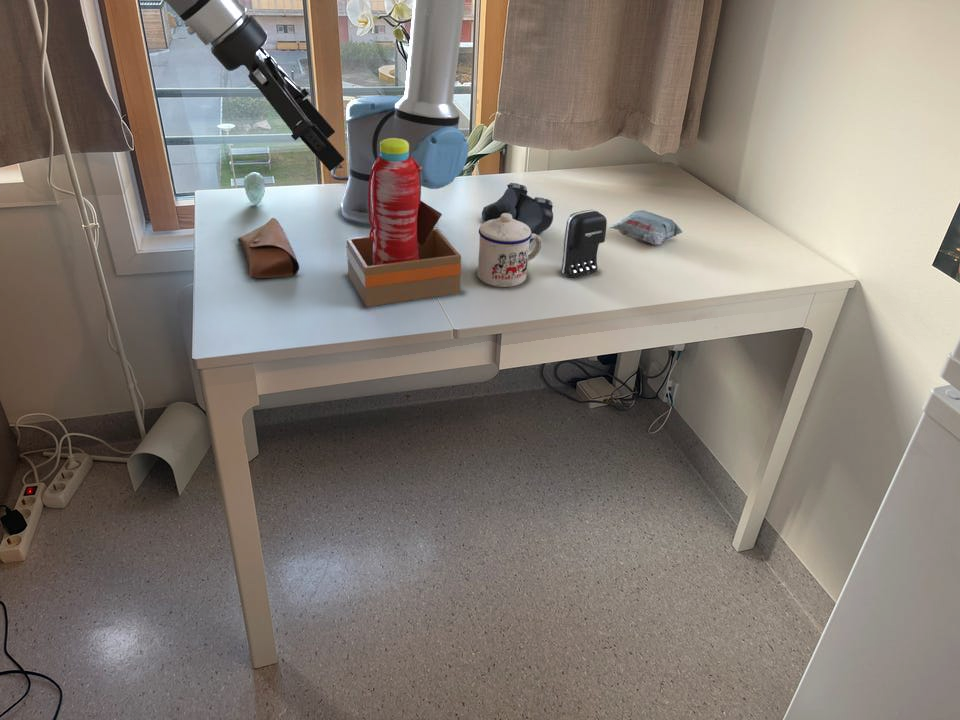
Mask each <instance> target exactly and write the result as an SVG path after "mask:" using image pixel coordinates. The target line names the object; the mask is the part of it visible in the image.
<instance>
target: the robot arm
mask: <svg viewBox="0 0 960 720" xmlns="http://www.w3.org/2000/svg"><path fill="white" fill-rule="evenodd" d="M164 1H165V2H166V3H167V5H169V7H170V8H171V9H172V10H173V11H174V13H176V15H177V16H178V17H179V18H180V19H181V20H182V21H183V22H184V23H185V24H186V26H188V27H187V29H186V32H187V34H188V35H189V36H193V35H194V34H195V35H196V37H197V38H198V39H199V40H200V42H202V44H203V45H205V46H211V47H210V53H211V54H212V55H213V56H214V58H216V60H217V61H218V62H219V63H220V64H221V65H222V66H223V67H224V69H225V70H226V71H228V72H233V71H236V70H237V69H239V68H240V67H241V66H244V67H245V68H246V69H247V71H248V75H247V77H248V79H249V81H250V82H252V84H254V86H255V87H256V88H257V89H258V90H259V92H260V93H261V94H262V95H263V96H264V98H265V99H266V101H268V103H269V104H270V105H271V107H272V108H273V109H274V111H275V112H276V113H277V114H278V116H279V117H280V118H281V120H282V121H283V123H285V125H286V126H287V128H289V130H290V131H291V132H292V134H291V135H290V137H291V138H292V139H293V140H294V141H297V140H298V139H300V140H301V141H302V142H303V143H304V144H305V145H306V146H307V147H308V148H309V150H310V151H311V152H312V153H313V155H314V156H315V157H316V158H318V160H319V161H320V162H321V164H323V165H324V167H325V168H326V169H327V170H328V171H329V172H330V176H331V177H332V178H333V179H334V180H336V181H347V183H346V186H345V191H344V194H343V196H342V200H341V215H342V217H343V218H344V219H345V220H346V221H348V222H351V223H354V224H356V225H360V226H366V227H372V225H371V223H370V221H369V214H368V191H369V178H370V174H371V171H372V166H373V164H374V162H375V161H376V160H377V157H378V156H379V155H380V142H381V141H382V140H385V139H389V138H397V139H403V140H406V141H407V142H408V143H409V155H410V157H411V158H413V159H414V160H415V161H416V162H417V164H418V165H419V166H420V167H422V172H421V187H422V188H426V189H430V190H439V189H442V188H445V187H446V186H449V185H450V184H451V183H453V182H454V180H455V179H456V178H457V177H459V175H460V174H461V173H462V171H463V170H464V167H465V166H466V163H467V159H468V156H469V142H468V140H467V138H466V135H465V134H464V133H463V132H462V130H460V129H459V123H460V122H459V121H460V115H461V114H460V111H459V110H458V108H457V107H456V106H455V104H454V95H455V87H456V78H457V71H458V63H459V62H458V61H459V54H460V46H461V38H462V30H463V22H464V15H465V14H464V13H465V5H466V0H413V3H412V4H413V5H412V14H411V15H412V16H411V26H410V36H409V37H410V39H409V46H408V47H409V48H408V56H407V57H408V58H407V67H406V68H407V70H406V79H405V90H404V95H403V96H400V95H373V96H363V97H359V98H355V99H353V100H351V101H349V103H348V104H347V105H346V119H345V124H346V134H347V135H346V136H347V153H348V154H347V155H348V156H347V157H348V173H349V174H348V176H338V175H336V174H335V173H336V171H337V169H342V163H343V162H344V161H345V158H344V156H343V155H342V154H341V153H340V151H339V150H338V149H337V148H336V147H335V146H334V144H332V143H331V141H330V140H329V138H330V137H331V136H333V135H334V134H335V133H336V130H335V129H334V128H333V127H332V126H331V124H330V123H329V122H328V121H327V120H326V118H324V116H323V115H322V114H321V113H320V111H319V110H318V109H317V108H316V107H315V106H314V104H313V103H312V101H310V100H309V99H308V96H309V95H310V93H309V91H308V90H307V89H306V88H305V87H304V88H303V89H302V88H301V86H300V85H298V84H297V83H296V82H295V81H294V80H293V79H292V78H291V77H290V75H288V74H287V73H286V72H285V70H284V69H283V68H282V67H281V66H280V65H279V64H278V63H277V61H276V60H275V58H274V57H273V56H272V55H271V54H270V55H269V54H268V52H267V51H266V49H265V48H264V46H265V45H266V43H267V42H268V40H269V39H268V38H269V34H268V33H267V31H266V30H265V28H264V27H262V25H261V24H260V23H259V22H258V20H256V18H255V17H254V15H252V14H251V15H250V14H247V13H246V12H247V7H246V5H245V4H244V3H243V2H242V1H241V0H164ZM418 179H419V173H418ZM370 213H371V221H372V220H373V210H372V202H371V193H370Z"/></svg>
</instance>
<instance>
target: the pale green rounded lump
mask: <svg viewBox="0 0 960 720" xmlns="http://www.w3.org/2000/svg"><path fill="white" fill-rule="evenodd" d="M243 187H244V192H245V194H246V197H247V199H248V201H249V202H250V203H251V204H252V205H254V206H256V205H259V204H260V203H261V202H262V201H263V198H264V195H265V191H266V181H265V178H264V177H263V175H261V173H259V172H256V171H253V172H250V173H249V174H247V175H244V176H243Z"/></svg>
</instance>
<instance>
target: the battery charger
mask: <svg viewBox="0 0 960 720" xmlns="http://www.w3.org/2000/svg"><path fill="white" fill-rule="evenodd" d="M607 221H608V220H607V218H606V216H605V215H604V214H602V213H600V212H599V211H598V210H596V209H588V210H581V211H577V212H573V213H571V214H570V215H569V216H568V218H567V219H566V225H565V230H564V231H565V232H564V241H563V253H562V254H563V255H562V264H561V270H560V271H561V272H562V273H561V274H563V275H566V276H567V277H571V278H577V277H584V276H587V275H590V274H595V273H596V272H597V271H598V261H597V260H598V259H597V258H598V250H599V245H600V244H603V243H605V241H606V234H607V226H608V222H607Z"/></svg>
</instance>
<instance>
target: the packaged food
mask: <svg viewBox="0 0 960 720" xmlns="http://www.w3.org/2000/svg"><path fill="white" fill-rule="evenodd" d="M609 229H614V230H617V231H618V232H619V233H620V234H621V235H623V236H626V237H628V238H632V239H635V240H638V241H640V242H643V243H647V244H651V245H654V246H656V245H657V246H658V245H661V244H663V243H664V241H666V240H669V239H671V238H673V237H676V236H677V235H680V234H682V233H683V230H682V229H681V228H680V226H679V225H678V224H677V223H676V222H675V221H674V220H673V219H671V218H668V217H665V216H662V215H659V214H656V213H655V212H651V211H648V210H644V209H642V210H635V211H633V212H632V213H630V214H629V215H627V216H626V217H624V218H623V219H622V220H620V222H617V223H614V224H611V225H609Z"/></svg>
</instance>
